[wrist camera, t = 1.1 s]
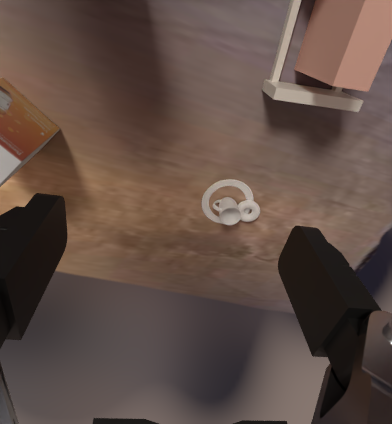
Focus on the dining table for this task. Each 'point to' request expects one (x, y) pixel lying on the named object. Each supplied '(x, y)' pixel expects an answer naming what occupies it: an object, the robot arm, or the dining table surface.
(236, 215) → the white pacifier
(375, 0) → the pink rectangular block
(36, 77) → the dining table surface
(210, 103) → the dining table surface
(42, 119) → the small box
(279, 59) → the stand
